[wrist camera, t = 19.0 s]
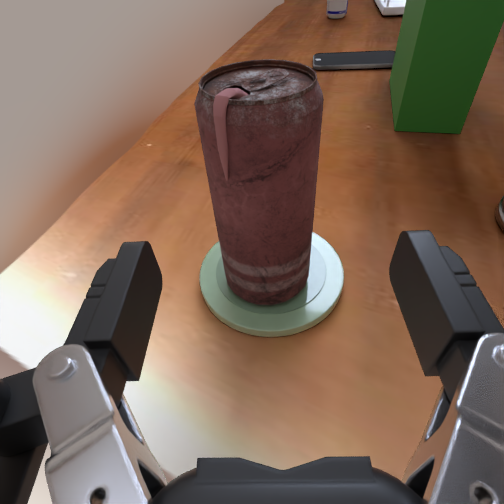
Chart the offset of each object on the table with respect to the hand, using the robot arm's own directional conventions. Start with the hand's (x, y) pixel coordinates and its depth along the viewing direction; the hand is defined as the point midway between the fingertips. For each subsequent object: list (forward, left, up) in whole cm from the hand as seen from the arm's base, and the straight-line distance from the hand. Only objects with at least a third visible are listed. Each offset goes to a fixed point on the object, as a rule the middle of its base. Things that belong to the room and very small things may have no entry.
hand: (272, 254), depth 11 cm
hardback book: (-34, -31, -12) cm, 48 cm away
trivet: (-3, -9, -12) cm, 16 cm away
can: (-3, -8, -11) cm, 14 cm away
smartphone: (-36, -51, -12) cm, 63 cm away
